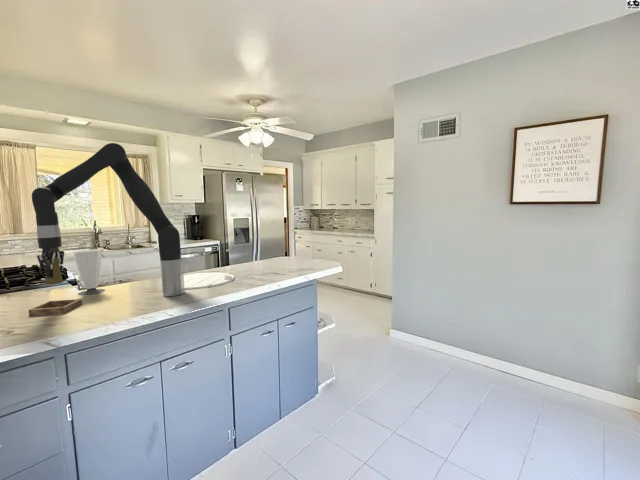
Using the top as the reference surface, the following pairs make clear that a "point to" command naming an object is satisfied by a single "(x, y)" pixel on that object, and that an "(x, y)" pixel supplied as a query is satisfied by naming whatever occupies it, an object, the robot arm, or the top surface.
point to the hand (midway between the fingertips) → (53, 276)
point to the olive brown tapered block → (54, 273)
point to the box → (46, 310)
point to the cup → (89, 269)
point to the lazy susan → (206, 280)
